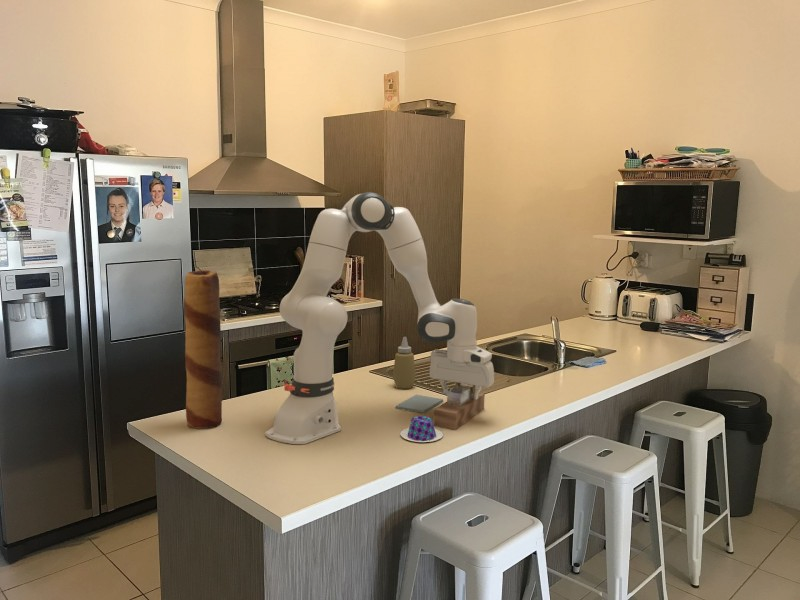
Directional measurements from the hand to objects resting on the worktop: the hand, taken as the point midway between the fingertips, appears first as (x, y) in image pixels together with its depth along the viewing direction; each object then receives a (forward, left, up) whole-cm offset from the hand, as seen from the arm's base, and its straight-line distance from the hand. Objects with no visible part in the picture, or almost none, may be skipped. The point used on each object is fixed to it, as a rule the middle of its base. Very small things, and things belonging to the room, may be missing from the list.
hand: (460, 396), depth 200 cm
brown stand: (0, 0, -6) cm, 7 cm away
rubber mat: (+4, +16, -6) cm, 18 cm away
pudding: (-20, +3, -7) cm, 22 cm away
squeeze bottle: (+19, +30, -7) cm, 36 cm away
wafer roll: (-44, +62, -7) cm, 76 cm away
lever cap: (0, 0, -2) cm, 2 cm away
